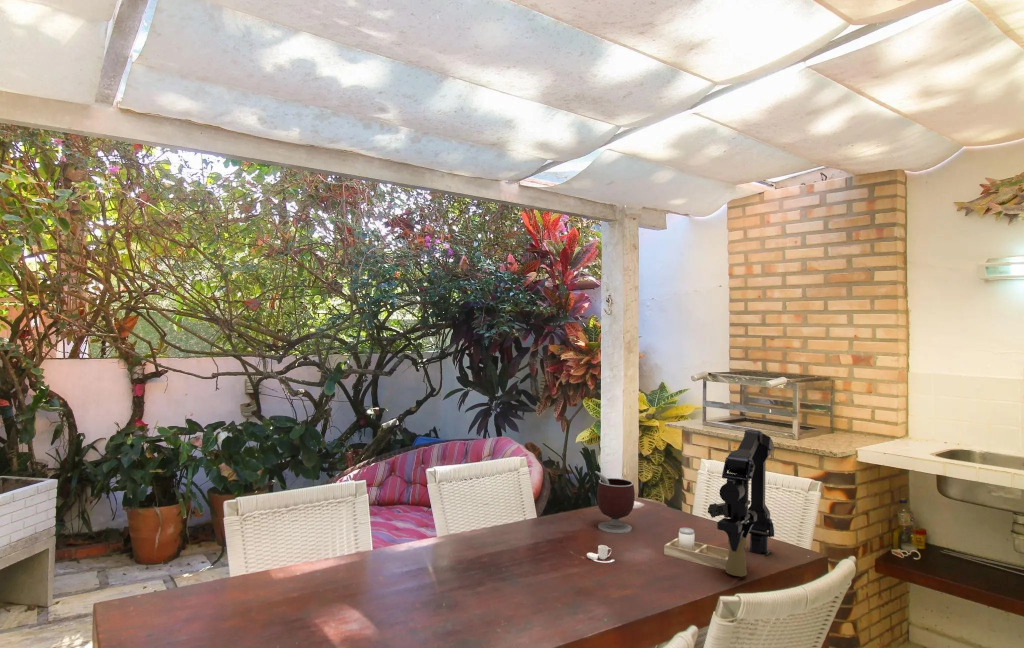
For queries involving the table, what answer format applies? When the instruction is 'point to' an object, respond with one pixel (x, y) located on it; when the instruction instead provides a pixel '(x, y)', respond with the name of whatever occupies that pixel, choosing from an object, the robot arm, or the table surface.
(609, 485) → the mate gourd
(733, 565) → the olive tapered block
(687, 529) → the salt shaker
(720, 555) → the caddy
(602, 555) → the teacup and saucer
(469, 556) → the table surface
